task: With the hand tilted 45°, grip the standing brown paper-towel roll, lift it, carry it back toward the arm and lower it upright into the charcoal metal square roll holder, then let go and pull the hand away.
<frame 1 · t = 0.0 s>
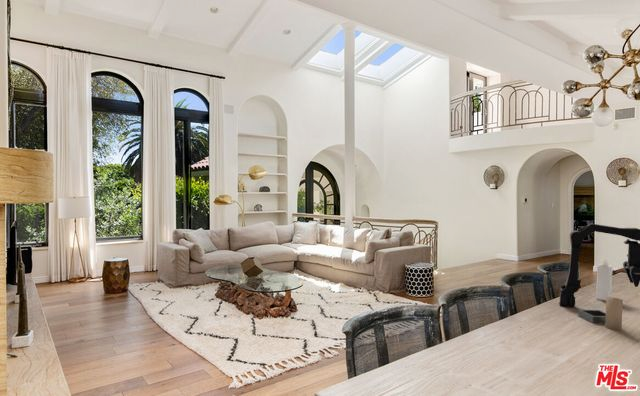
hand: (633, 284, 203), 15 cm above the table, tool pointing down, fingers open, 9 cm apart
holder: (595, 319, 194), on the table
milk: (603, 299, 230), on the table
roll: (613, 327, 183), on the table
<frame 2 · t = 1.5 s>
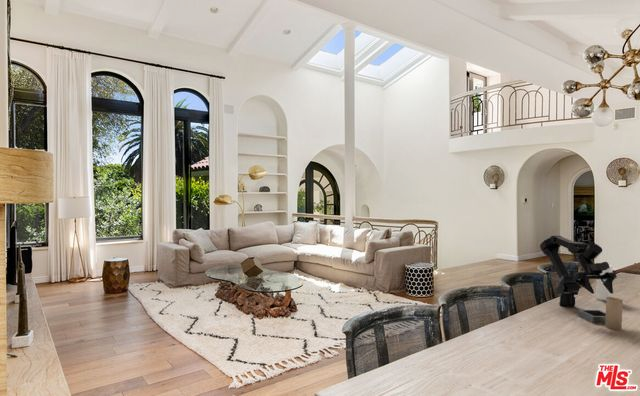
hand: (602, 293, 190), 13 cm above the table, tool tilted 45°, fingers open, 9 cm apart
nothing on the table moved.
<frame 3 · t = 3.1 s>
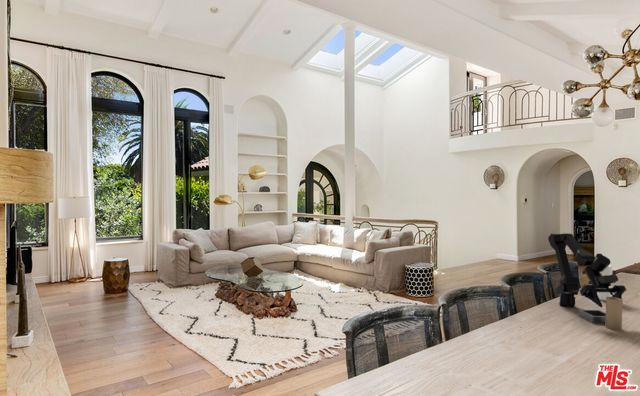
hand: (611, 307, 184), 9 cm above the table, tool tilted 45°, fingers open, 9 cm apart
nothing on the table moved.
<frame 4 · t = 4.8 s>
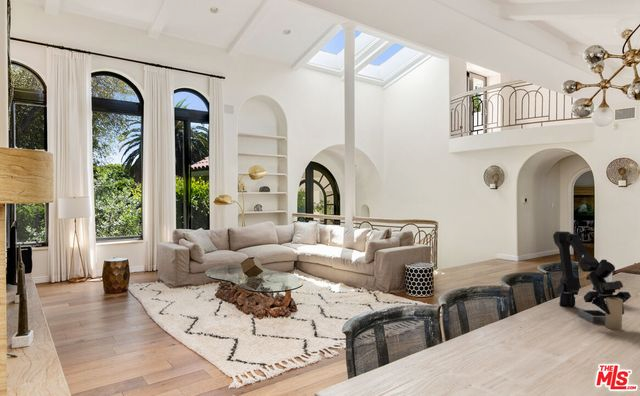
hand: (616, 314, 181), 7 cm above the table, tool tilted 45°, fingers closed on roll, 6 cm apart
roll: (613, 327, 183), on the table, touching gripper
everything else where it was.
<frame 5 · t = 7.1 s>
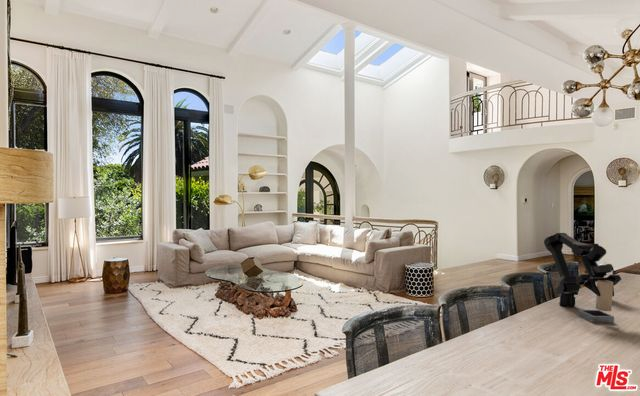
hand: (606, 296, 187), 13 cm above the table, tool tilted 45°, fingers closed on roll, 6 cm apart
roll: (603, 309, 189), point 6 cm above the table, touching gripper
everything else where it was.
when the fingers open (8 cm above the table, at t = 9.6 s): roll drops 1 cm, resting on holder.
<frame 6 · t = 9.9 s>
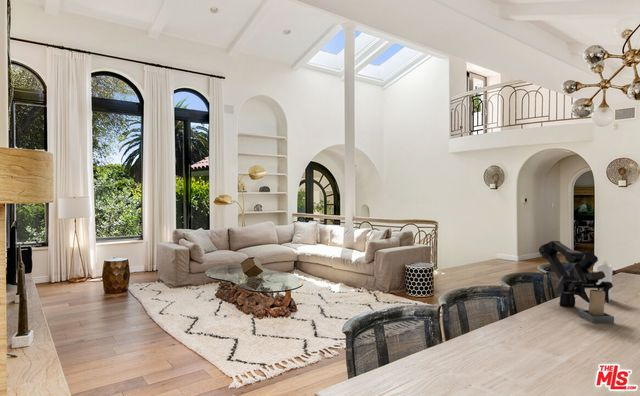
hand: (598, 302, 192), 9 cm above the table, tool tilted 45°, fingers open, 9 cm apart
roll: (595, 318, 194), point 1 cm above the table, touching holder
everything else where it was.
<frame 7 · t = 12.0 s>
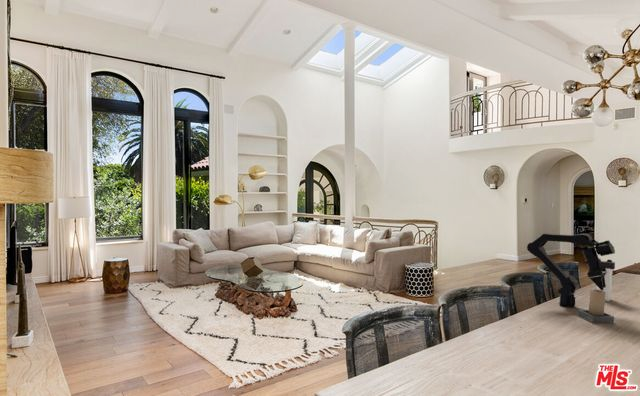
hand: (603, 288, 204), 12 cm above the table, tool tilted 20°, fingers open, 9 cm apart
nothing on the table moved.
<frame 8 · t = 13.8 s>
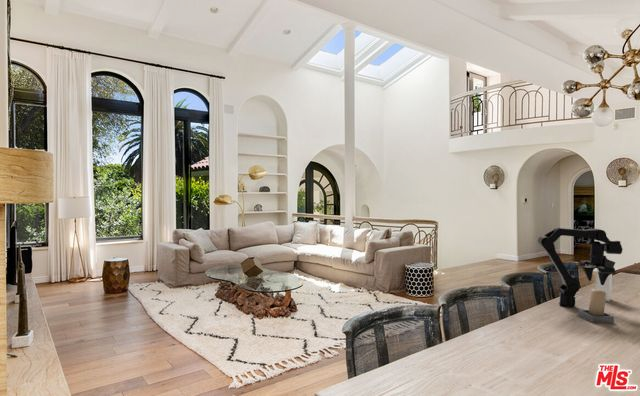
hand: (595, 282, 213), 13 cm above the table, tool pointing down, fingers open, 9 cm apart
nothing on the table moved.
at the end: roll 0.1 cm off-centre on the holder, point 0.6 cm above the holder's base; roll tilted 1°; the gripper is holding nothing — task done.
